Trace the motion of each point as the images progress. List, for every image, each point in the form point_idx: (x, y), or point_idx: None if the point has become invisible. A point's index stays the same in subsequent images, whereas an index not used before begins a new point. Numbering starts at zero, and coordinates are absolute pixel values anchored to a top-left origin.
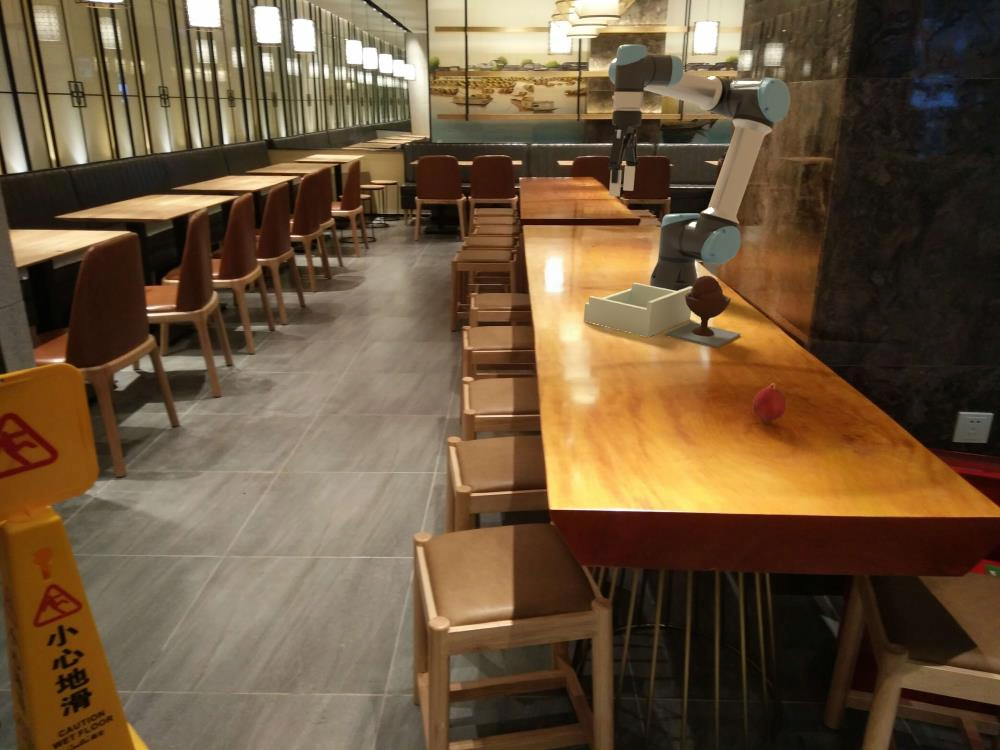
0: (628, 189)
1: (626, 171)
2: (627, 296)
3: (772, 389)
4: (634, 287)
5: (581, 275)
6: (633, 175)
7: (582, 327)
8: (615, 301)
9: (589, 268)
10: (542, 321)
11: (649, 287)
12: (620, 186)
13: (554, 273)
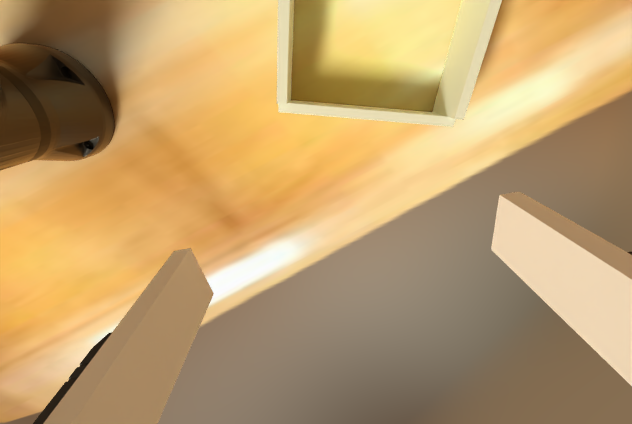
0: (199, 273)
1: (151, 407)
2: (304, 103)
3: None
4: (287, 96)
5: None
6: (136, 333)
7: (473, 104)
8: (476, 50)
9: (112, 280)
10: (469, 174)
11: (288, 51)
12: (551, 226)
13: None
